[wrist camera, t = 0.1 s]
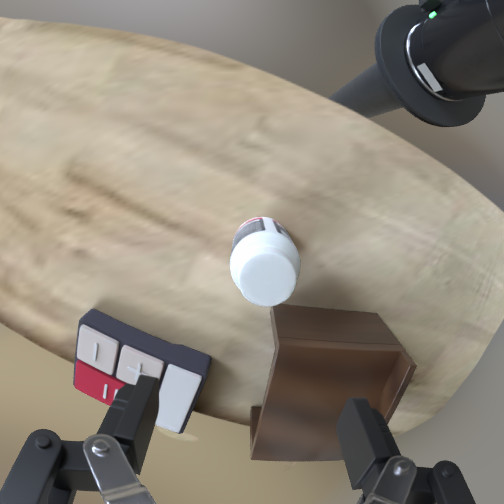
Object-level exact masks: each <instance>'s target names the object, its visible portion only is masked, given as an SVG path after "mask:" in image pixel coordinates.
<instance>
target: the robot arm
mask: <svg viewBox="0 0 504 504" xmlns="http://www.w3.org/2000/svg"><path fill="white" fill-rule="evenodd" d="M419 7H420V8H422V10H421V11H422V12H423V13H425V14H424V15H422V16H421V17H419V18H418V19H417V24H416V26H414V27H413V28H411V29H410V30H409V31H408V33H407V35H406V37H405V40H404V56H405V60H406V63H407V66H408V68H409V70H410V72H411V74H412V76H413V77H414V79H415V80H416V82H417V83H418V84H419V85H420V86H421V87H422V88H423V89H424V90H425V91H426V92H427V93H428V94H430V95H431V96H433V97H434V98H436V99H438V100H441V101H444V102H457V101H461V100H464V99H466V98H471V97H477V96H483V95H487V94H494V93H499V92H504V0H419ZM158 412H159V379H158V378H157V377H152V376H147V375H143V374H141V375H140V376H139V378H138V380H137V382H136V385H133V384H129V383H126V384H125V385H124V386H123V387H121V388H120V389H119V390H118V392H117V394H116V396H115V398H114V400H113V402H112V404H111V407H110V408H109V410H108V412H107V414H106V416H105V418H104V420H103V422H102V424H101V426H100V428H99V430H98V432H97V434H95V435H92V436H90V437H88V438H87V439H86V440H85V441H64V440H61V439H60V438H59V436H58V435H57V434H56V433H55V432H53V431H51V430H47V429H40V430H36V431H34V432H33V433H31V434H30V435H29V437H28V438H27V440H26V442H25V444H24V446H23V448H22V450H21V451H20V453H19V455H18V457H17V459H16V461H15V463H14V465H13V467H12V469H11V471H10V473H9V475H8V477H7V479H6V481H5V483H4V485H3V487H2V489H1V491H0V504H73V500H74V497H75V494H76V491H77V490H81V491H99V492H100V494H101V496H102V498H103V500H104V502H105V504H156V502H155V501H154V499H153V498H152V496H151V495H150V493H149V491H148V490H147V488H146V487H145V486H144V485H142V484H141V483H140V482H139V480H138V478H137V476H136V475H135V474H138V475H140V472H141V468H142V466H143V462H144V459H145V455H146V452H147V449H148V446H149V442H150V439H151V436H152V433H153V429H154V426H155V423H156V420H157V416H158ZM336 433H337V437H338V440H339V444H340V447H341V451H342V454H343V458H344V461H345V465H346V468H347V471H348V475H349V479H350V482H351V486H352V489H353V490H355V489H362V490H363V494H362V495H361V497H360V498H359V500H358V502H357V504H436V503H437V504H476V503H475V501H474V499H473V497H472V494H471V492H470V490H469V488H468V486H467V484H466V482H465V480H464V477H463V475H462V473H461V471H460V469H459V468H458V466H456V464H454V463H453V462H450V461H440V462H438V463H437V464H436V465H435V466H434V467H433V468H425V467H416V465H415V463H414V462H413V461H412V460H411V459H409V458H407V457H404V456H401V454H400V451H399V449H398V447H397V445H396V443H395V440H394V438H393V436H392V434H391V432H390V430H389V427H388V426H387V423H386V421H385V419H384V417H383V415H382V414H381V413H380V412H379V411H378V410H377V409H376V408H371V406H370V404H369V402H368V400H367V398H365V397H350V398H348V399H347V401H346V403H345V406H344V408H343V410H342V412H341V415H340V417H339V419H338V421H337V426H336Z"/></svg>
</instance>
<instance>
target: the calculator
mask: <svg viewBox="0 0 504 504" xmlns="http://www.w3.org/2000/svg"><path fill="white" fill-rule="evenodd" d="M211 360H212V358H211V356H209V355H207V354H204V353H201V352H199V351H196V350H194V349H191V348H188V347H186V346H183V345H175V344H170V343H168V342H166V341H163V340H161V339H158V338H156V337H154V336H151V335H149V334H147V333H145V332H142V331H140V330H138V329H135V328H133V327H131V326H129V325H127V324H125V323H122V322H120V321H118V320H116V319H114V318H112V317H110V316H108V315H105V314H103V313H101V312H99V311H97V310H95V309H91V310H90V311H88V312H87V313H86V314H85V315H84V316H83V317H82V318H81V319H80V320H79V325H78V334H77V343H76V353H75V365H74V381H73V384H74V386H75V388H76V389H78V390H80V391H81V392H83V393H85V394H87V395H89V396H91V397H93V398H95V399H97V400H99V401H101V402H103V403H105V404H107V405H109V406H111V404H112V402H113V400H114V398H115V396H116V394H117V392H118V390H119V389H120V388H121V387H123V386H124V385H125V384H126V383H129V384H133V385H136V382H137V380H138V378H139V376H140V375H141V374H143V375H147V376H152V377H157V378H158V379H159V412H158V416H157V420H156V423H155V425H158V426H160V427H163V428H165V429H168V430H171V431H173V432H176V433H179V434H181V433H183V431H184V429H185V427H186V425H187V422H188V420H189V418H190V415H191V413H192V411H193V409H194V406H195V404H196V402H197V399H198V397H199V395H200V392H201V390H202V388H203V386H204V383H205V381H206V379H207V376H208V372H209V368H210V364H211Z"/></svg>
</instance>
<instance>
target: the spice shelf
mask: <svg viewBox="0 0 504 504" xmlns="http://www.w3.org/2000/svg"><path fill="white" fill-rule="evenodd" d="M270 315H271V322H272V329H273V336H274V343H275V352H274V357H273V361H272V366H271V370H270V374H269V379H268V383H267V387H266V392H265V396H264V400H263V404H262V407H251V410H250V441H251V442H250V445H251V446H250V447H251V460H266V461H333V460H344V458H343V454H342V451H341V447H340V444H339V440H338V437H337V433H336V426H337V421H338V419H339V417H340V415H341V412H342V410H343V408H344V406H345V403H346V401H347V399H348V398H350V397H365V398H367V400H368V402H369V404H370V406H371V408H376V409H377V410H378V411H379V412H380V413H381V414H382V415H383V417H384V419H385V421H386V423H387V424H388V423H389V421H390V419H391V417H392V415H393V413H394V412H395V410H396V408H397V406H398V404H399V402H400V400H401V398H402V396H403V394H404V392H405V390H406V388H407V386H408V384H409V382H410V380H411V378H412V375H413V373H414V371H415V369H416V367H417V365H416V364H415V362H414V361H413V360H412V358H411V357H410V356H409V354H408V353H407V352H406V350H405V349H404V348H403V346H402V345H401V344H400V342H399V341H398V340H397V338H396V337H395V336H394V334H393V333H392V332H391V331H390V329H389V328H388V327H387V325H386V324H385V323H384V322H383V320H382V319H381V318H380V317H379V315H378V314H377V313H367V312H356V311H344V310H334V309H324V308H314V307H304V306H295V305H286V304H278V305H275V306H271V311H270Z"/></svg>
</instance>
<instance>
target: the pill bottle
mask: <svg viewBox="0 0 504 504" xmlns="http://www.w3.org/2000/svg"><path fill="white" fill-rule="evenodd" d="M230 271H231V275H232V278H233V280H234V282H235V284H236V285H237V286H238V288H239V289H240V290H241V292H242V294H243V295H244V297H245V298H246V299H247V300H249V301H250V302H251V303H253V304H256V305H258V306H264V307H270V306H275V305H278V304H280V303H282V302H284V301H285V300H287V299H288V298H289V297H290V296H291V294H292V293H293V291H294V289H295V286H296V281H297V278H298V276H299V273H300V257H299V253H298V251H297V249H296V247H295V245H294V243H293V241H292V240H291V238H290V236H289V234H288V233H287V231H286V230H285V228H284V227H283V226H282V225H281V224H280V223H279V222H277V221H276V220H274V219H271V218H268V217H256V218H252V219H250V220H248V221H246V222H245V223H243V224H242V225H241V226H240V227H239V229H238V230H237V232H236V234H235V237H234V240H233V246H232V252H231V258H230Z"/></svg>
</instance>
